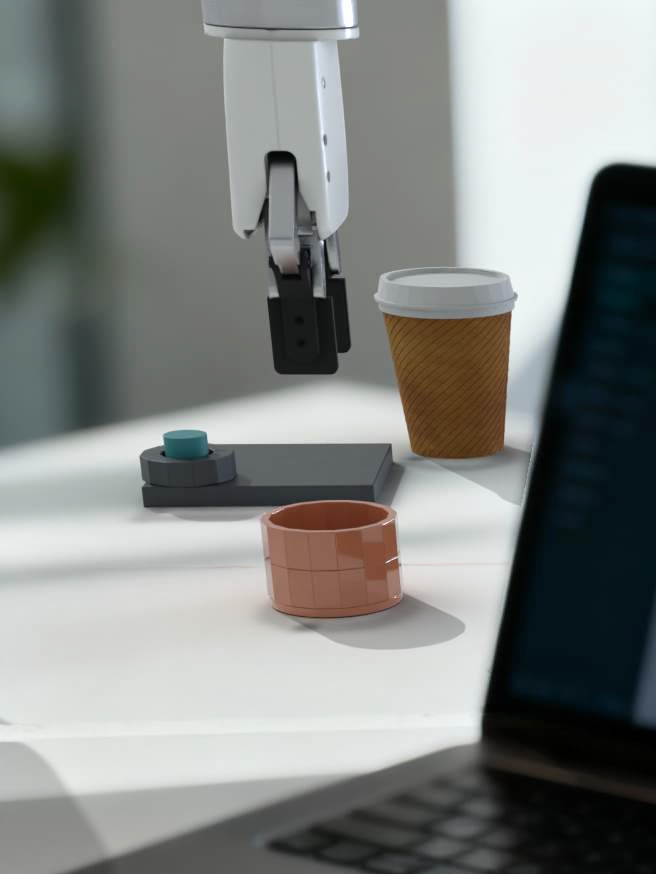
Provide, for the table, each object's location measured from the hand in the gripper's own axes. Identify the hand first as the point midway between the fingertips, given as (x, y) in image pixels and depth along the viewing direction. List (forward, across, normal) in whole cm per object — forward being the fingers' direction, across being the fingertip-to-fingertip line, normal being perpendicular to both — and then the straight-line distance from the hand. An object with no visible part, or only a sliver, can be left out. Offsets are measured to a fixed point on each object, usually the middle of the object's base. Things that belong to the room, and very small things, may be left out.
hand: (314, 359), depth 128 cm
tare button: (+11, -23, -11) cm, 28 cm away
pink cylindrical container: (+13, 0, 0) cm, 13 cm away
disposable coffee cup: (+14, -37, +4) cm, 40 cm away
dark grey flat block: (+13, -27, -7) cm, 31 cm away
